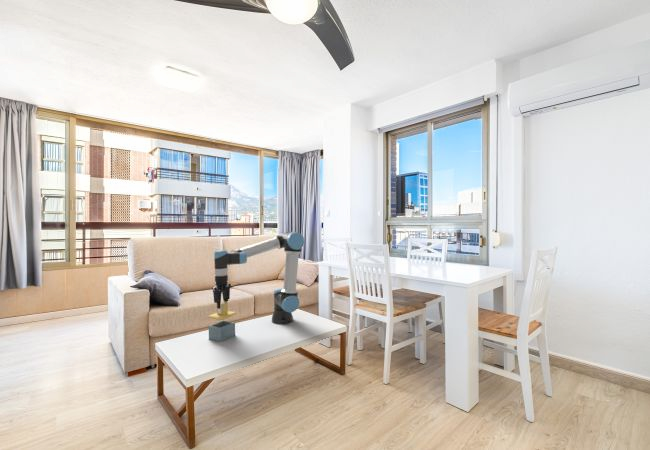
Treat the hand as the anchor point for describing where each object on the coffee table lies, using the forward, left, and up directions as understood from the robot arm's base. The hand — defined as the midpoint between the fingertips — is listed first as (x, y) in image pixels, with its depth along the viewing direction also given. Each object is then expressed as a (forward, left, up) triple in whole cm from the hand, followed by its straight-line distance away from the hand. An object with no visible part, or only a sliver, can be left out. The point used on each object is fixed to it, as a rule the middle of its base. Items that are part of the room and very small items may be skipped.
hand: (222, 312), depth 192 cm
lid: (0, 0, -2) cm, 2 cm away
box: (0, 0, -15) cm, 15 cm away
